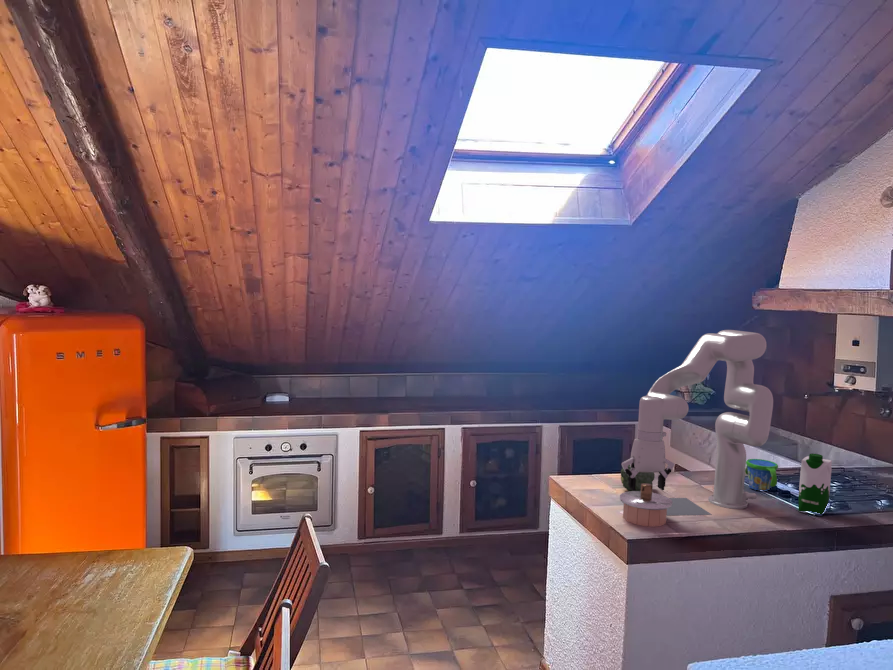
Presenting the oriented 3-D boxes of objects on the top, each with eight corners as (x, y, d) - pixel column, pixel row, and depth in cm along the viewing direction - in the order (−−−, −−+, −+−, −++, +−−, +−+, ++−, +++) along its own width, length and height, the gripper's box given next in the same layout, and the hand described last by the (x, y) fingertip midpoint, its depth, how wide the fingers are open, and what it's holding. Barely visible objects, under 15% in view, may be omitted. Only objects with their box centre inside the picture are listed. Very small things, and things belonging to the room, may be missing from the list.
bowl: (654, 512, 229) (655, 494, 229) (673, 526, 216) (674, 508, 216) (616, 513, 227) (617, 495, 227) (633, 527, 214) (634, 508, 214)
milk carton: (794, 512, 235) (799, 453, 233) (801, 505, 242) (806, 449, 240) (823, 518, 230) (829, 458, 228) (830, 512, 236) (835, 454, 235)
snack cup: (785, 496, 253) (787, 468, 252) (757, 495, 252) (759, 468, 251) (762, 483, 268) (764, 457, 267) (736, 482, 267) (738, 456, 266)
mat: (686, 498, 245) (686, 497, 245) (711, 515, 228) (711, 514, 228) (640, 499, 242) (640, 498, 242) (662, 516, 225) (663, 515, 225)
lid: (657, 493, 231) (658, 477, 230) (681, 509, 215) (683, 492, 214) (611, 493, 228) (612, 477, 227) (632, 510, 212) (633, 493, 212)
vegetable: (645, 477, 262) (666, 470, 249) (630, 504, 257) (651, 499, 243) (619, 457, 263) (639, 448, 249) (604, 484, 257) (623, 477, 244)
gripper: (670, 433, 225) (666, 485, 226) (618, 433, 222) (615, 485, 223) (681, 438, 217) (677, 492, 219) (628, 438, 214) (625, 493, 216)
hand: (646, 489), depth 221 cm, fingers open, 9 cm apart
